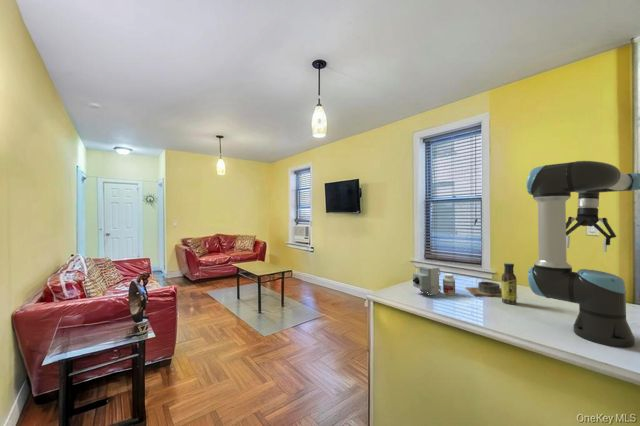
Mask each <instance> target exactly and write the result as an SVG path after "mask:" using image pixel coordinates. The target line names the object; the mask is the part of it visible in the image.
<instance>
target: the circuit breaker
mask: <svg viewBox="0 0 640 426" xmlns="http://www.w3.org/2000/svg"><path fill="white" fill-rule="evenodd" d="M412 274H413V275H412V283H413V285H412V286H413V287H415V288H417V289H419V292H420V291H421V292H423V293H422V294H424V293H426V294H429V295H430V294H437V295H439V294H438V293H441V291H442V288H441V287H442V286H441V285H440V276H441V270H440V267H438V266H434V265H422V266H421V265H420V266H419V272H414V273H412ZM421 292H420V293H421ZM427 292H428V293H427ZM426 294H425V295H426ZM429 295H428V296H429ZM430 296H431V295H430Z"/></svg>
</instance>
